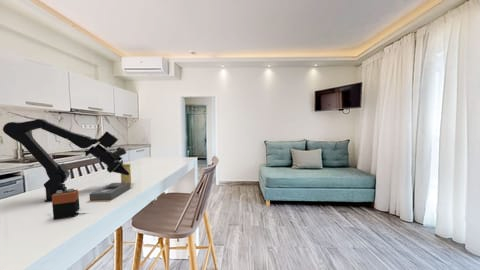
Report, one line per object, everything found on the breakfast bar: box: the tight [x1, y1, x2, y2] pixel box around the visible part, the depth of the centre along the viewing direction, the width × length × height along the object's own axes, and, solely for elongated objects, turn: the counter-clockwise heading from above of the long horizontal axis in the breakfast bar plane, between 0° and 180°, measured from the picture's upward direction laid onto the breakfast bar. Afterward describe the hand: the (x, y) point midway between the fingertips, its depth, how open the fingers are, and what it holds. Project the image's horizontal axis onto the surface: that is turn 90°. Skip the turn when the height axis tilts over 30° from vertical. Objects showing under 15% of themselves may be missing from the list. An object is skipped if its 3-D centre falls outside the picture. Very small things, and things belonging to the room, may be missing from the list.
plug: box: [120, 163, 132, 185], centre depth 110 cm, size 4×4×10 cm
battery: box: [51, 188, 81, 220], centre depth 78 cm, size 4×7×10 cm, turn 111°
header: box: [85, 182, 134, 204], centre depth 97 cm, size 10×20×5 cm, turn 1°
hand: (128, 173), depth 110 cm, fingers closed on plug, 4 cm apart
